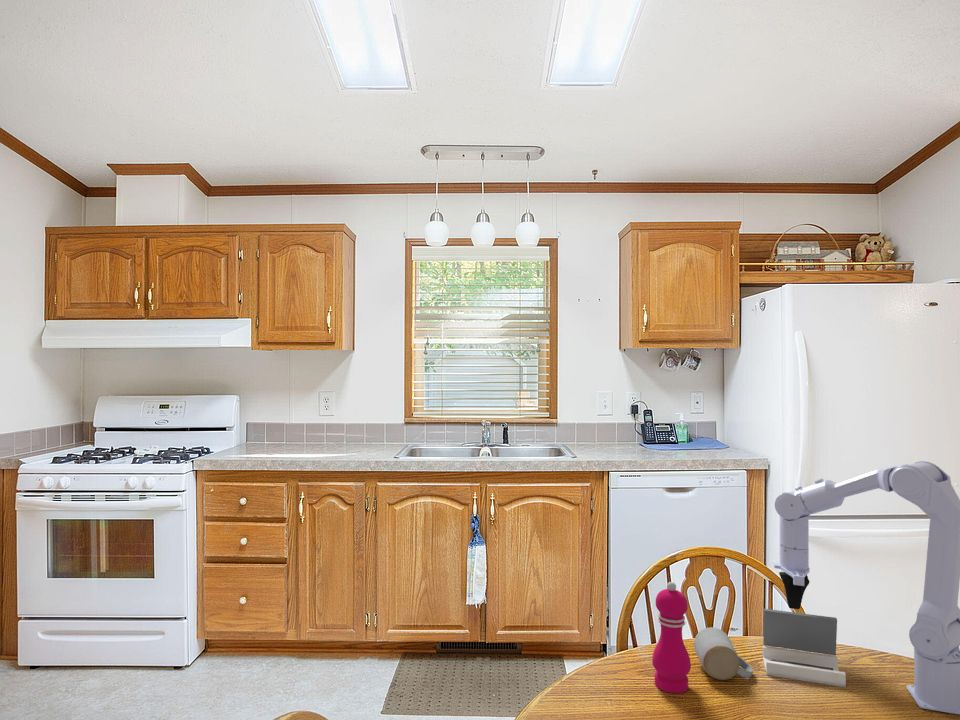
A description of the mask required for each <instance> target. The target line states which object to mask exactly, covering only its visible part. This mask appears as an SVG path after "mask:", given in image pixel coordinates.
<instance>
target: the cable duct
mask: <svg viewBox="0 0 960 720" xmlns="http://www.w3.org/2000/svg"><path fill="white" fill-rule="evenodd" d="M762 661H763V664H764V670H765V673H766V674H765V675H766V676H772V677H779V678H784V679H785V678H786V679H792V680H798V681H803V682H810V683H817V684H823V685H827V686H835V687H841V688H847V674H846V672H845V671H840V670H839V659H838V656H837V655H836V656H835V655H828V654H821V653H814V652H807V651H800V650H793V649H786V648H780V647H773V646H766V645H762Z"/></svg>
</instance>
